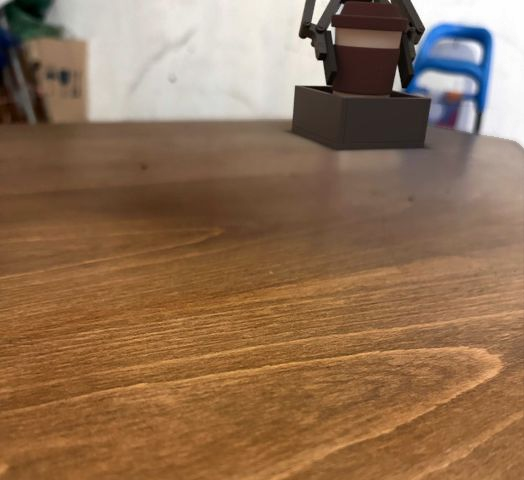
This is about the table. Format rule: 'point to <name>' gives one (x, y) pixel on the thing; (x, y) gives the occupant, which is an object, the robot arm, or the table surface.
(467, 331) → the table surface
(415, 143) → the basket
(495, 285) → the table surface
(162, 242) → the table surface
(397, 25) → the coffee cup
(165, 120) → the table surface
